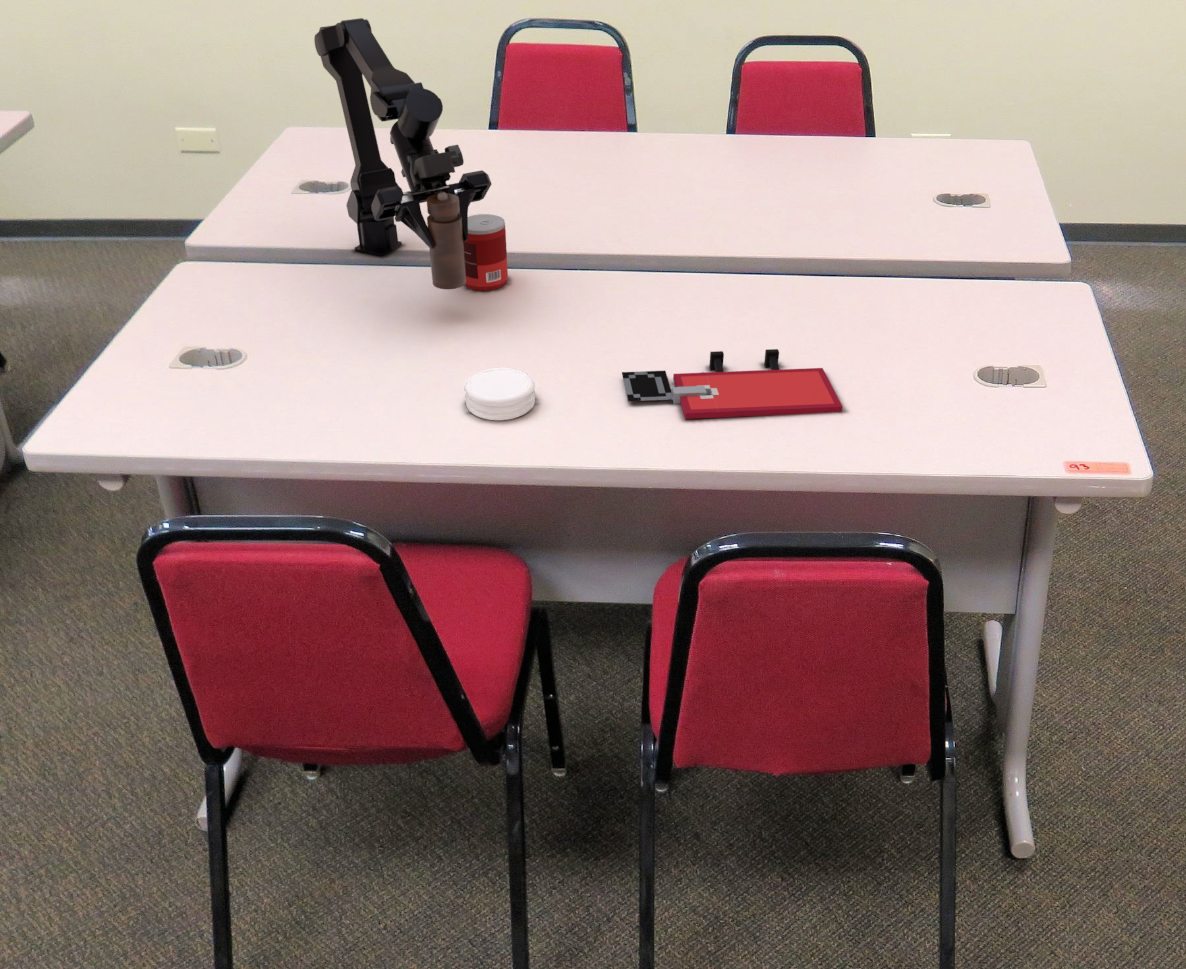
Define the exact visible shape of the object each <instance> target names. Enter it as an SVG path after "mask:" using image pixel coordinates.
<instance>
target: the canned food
mask: <svg viewBox="0 0 1186 969" xmlns="http://www.w3.org/2000/svg"><path fill="white" fill-rule="evenodd" d="M463 244H464V258H465V272H466V283H465V285H464V286H466V287H467V288H468V289H470V290H472V291H479V292H488V291H494V290H497V289H500V288H502V287H504V286H505V285H506V284H507V282H508V278H509V275H508V274H509V273H508V272H509V271H508V256H507V255H508V251H507V232H506V222H505V219H504V218H503V217H501V216H499V215H497V214H490V213H483V214H482V213H480V214H479V213H478V214H473V215H470V216H469V215H468V240H467V241H466V242H464V240H463Z"/></svg>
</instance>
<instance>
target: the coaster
mask: <svg viewBox="0 0 1186 969" xmlns="http://www.w3.org/2000/svg"><path fill="white" fill-rule="evenodd" d="M464 392H465V393H464V398H465V406H466V408H467V410H468V411H469V412H470V413H471V414H473V415H474V416H476V417H478V418H480V419H483V420H488V421H489V420H490V421H507V420H513V419H516V418H519V417H522V416H524V415H525V414H527V413H528V412H530V411H531V410H532V409H533V408H534V405H535V403H536V396H535V395H536V391H535V381H534V379H533V378H532V376H530V375H529V374H528V373H526V372H524V371H521V370H519V369H516V368H511V367H494V368H493V367H492V368H488V369H483V370H480V371H478V372H476V373H474V374H473V375H472V376H470V377H469V378H468V379H467V380H466V382H465V384H464Z"/></svg>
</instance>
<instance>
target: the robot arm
mask: <svg viewBox="0 0 1186 969" xmlns="http://www.w3.org/2000/svg"><path fill="white" fill-rule="evenodd" d="M372 31H373V30H372V27H371V24H370V21H369V20H368V18H367V19H366V18H363V17H359V18H352V19H351V18H350V19H344V20H341V21H340V22H337V23H336V24H334V25H327V26H321V27H320V26H319V29H318V31H317V32H316V33H315V35H314V37H313V39H314V40H313V41H314V47H315V51H316V53H317V55H318V56H319V57H320V60H321V64H322V67H323V68H324V69H325V70H326V72H327V73H328V74H329V75H330V76H331V77H332V78H333V79H334V80H335V81H336V87H337V92H338V95H339V100H340V104H341V109H342V113H343V117H344V121H345V125H346V130H347V134H348V138H349V143H350V147H351V152H352V156H353V160H354V165H355V166H354V168H353V171H352V175H351V178H350V182H349V183H350V188H351V191H350V193H349V196H348V199H347V202H346V210H347V215H348V217H349V218H350V219H351V220H352V221H353V222H354V223H355V224H356V228H357V235H358V244H359V245H357V246H354V251H355V252H359V253H364V254H369V255H372V256H373V255H374V256H378V257H384V256H386V255H387V254H389V253H391V252H392V251H394V250H396V249H397V248H399V247H400V246H402V245H403V243H402V241H399V238H398V229H397V228H398V227H397V224H396V223H400V222H401V223H402V224H403V225H405V226H406V227H407V228H408V229H409V230H411V231H412V232H413V233H414V234H416V236H417V237H418V238H419V239H420V240H422V242H423V243H424V244H425V245H426V246H427V247H428V248H429V250H430V249H433V248H434V243H433V239H432V236H431V234H430V232H429V229H428V226H427V221H426V220H425V218H424V216H423V213H422V209H421V204H422V203H427V198H428V197H429V196H432V195H435V194H439V193H440V192H445V193H448V194H454V195H456V196H458V197H459V206H460V212H459V213H458V214H460V215H461V217H462V230H463V240H464V242H466V241H467V240H468V217H469V215H468V214H469V206H470V205H471V204H472V203H476V202H480V201H482V200H484V199H485V197H486V195H487V193H488V192H489V190H490V188H491V186H492V181H491V178H490V176H489V174H488V173H487V172H486V171H484V170H483V169H481V170H476V171H470V172H466V173H462V174H461V177H460V179H459V182H454V183H449V184H447V182H448V181H450V180H451V177H452V176H451V174H454V173H456V169H455V168H458V167H461V166H463V165H464V164H465V163H464V162H465V160H464V156H463V153H462V150H461V148H460V145H459V144H452V145H448V146H446V147H444V152H439V151H438V149H434V146H433V143H432V141H431V136H432V135H433V134H434V132H435V130H436V127H437V125H438V123H439V121H440V118H441V116H442V113H443V109H444V106H443V101H442V99H441V98H440V97H439V96H438V95H437V94H436V93H435V92H433V91H432V90H430V89H428V88H424V85H423V82H415V81H414V80H413V79H412V77H411V76H409V74H408V73H407V72H405V71H402V70H400V69H397V68H395V66H394V65H393V64H392V63H391V61H390V58H389V57H388V56H387V53H386V52H385V51H384V49H383V48H382V46H381V45H380V43H379V42H378V40H377V37H376V36H375V35H374V33H373V32H372ZM364 79H365V81H366V82H367V84H368V85H369V87H370V94H369V99H368V94H367V90H366V86H365V81H364ZM369 102H370V104H369ZM370 107H371V108H370ZM371 110H372V113H373V114H374V116H376V117H377V118H378V119H379V121H380V122H390V121H395V122H394V123H393V124H392V127H391V129H390V131H389V135H390V137H389V140H390V144H391V145H393V146H394V149H395V152H396V156H397V158H398V160H399V163H400V166H401V171H400V173H401V175H402V178H405V180H406V182H407V185H408V188H409V190H408V191H403V189H402V187H400V186H399V183H397V181H396V175H395V172H394V170H393V168H392V167H388V165H386V163H385V162H383V160H382V157H381V153H380V149H379V145H378V140H377V136H376V130H375V127H374V121H373V117H372V113H371ZM395 222H396V223H395Z"/></svg>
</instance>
